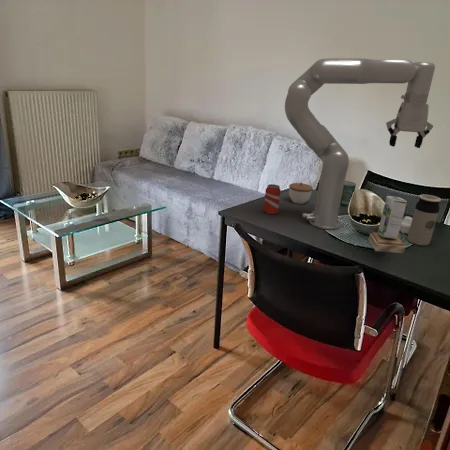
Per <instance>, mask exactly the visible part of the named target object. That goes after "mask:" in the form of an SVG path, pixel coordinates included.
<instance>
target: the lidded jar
mask: <svg viewBox="0 0 450 450" xmlns="http://www.w3.org/2000/svg"><path fill="white" fill-rule="evenodd" d="M312 192H313V187H312V185H309V184H307V183H303V182H294V183H290V184H289V189H288V195H289V198H290V200H291V201H292V203H294V204H299V205H301V204H302V205H303V204H305V203H306V202H308V201H309V200H310V198H311V195H312Z"/></svg>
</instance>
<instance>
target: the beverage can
mask: <svg viewBox="0 0 450 450" xmlns="http://www.w3.org/2000/svg"><path fill="white" fill-rule="evenodd" d="M281 191H282V190H281V188H280V185H278V184H273V183H272V184H268V185H267V187H266V188H265V192H264V193H265V194H264V202H263V212H265V214H267V215H276V214H277V213H278V212H279V207H280V200H281Z"/></svg>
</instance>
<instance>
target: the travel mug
mask: <svg viewBox="0 0 450 450" xmlns="http://www.w3.org/2000/svg"><path fill="white" fill-rule="evenodd" d="M418 198H419V199H418V201H417V202H416V204H415V208H414V211H413V215H412V218H413V219H412V222H411V226H410V230H409V234H407V238H406V239H407V241H409V242H410V243H411V244H413V245H416V246H417V245H418V246H429V245H431V240H432V238H433V237H432V236H433V233H434V230H435V226H436V223H437V219H438V215H439V212H440V209H441V208H440V202H441V201H442V199H441V198H440V197H438V196H435V195H431V194H419V195H418Z"/></svg>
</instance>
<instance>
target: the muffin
mask: <svg viewBox="0 0 450 450" xmlns="http://www.w3.org/2000/svg"><path fill="white" fill-rule="evenodd" d="M412 219H413V217H411V216H407V215H406V216H403V219H402V223H401V227H400V231H399V232H400V233H402V232H403V233H402V234H404V233H406V234H405V235H408V234H409V230H410V226H411V222H412Z"/></svg>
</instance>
